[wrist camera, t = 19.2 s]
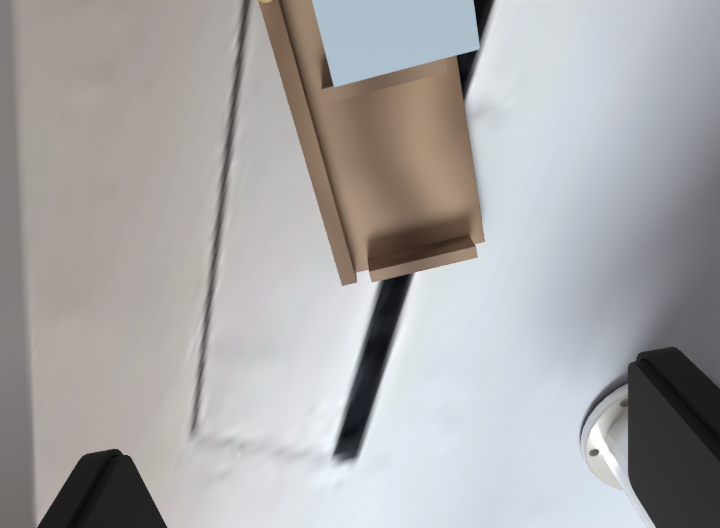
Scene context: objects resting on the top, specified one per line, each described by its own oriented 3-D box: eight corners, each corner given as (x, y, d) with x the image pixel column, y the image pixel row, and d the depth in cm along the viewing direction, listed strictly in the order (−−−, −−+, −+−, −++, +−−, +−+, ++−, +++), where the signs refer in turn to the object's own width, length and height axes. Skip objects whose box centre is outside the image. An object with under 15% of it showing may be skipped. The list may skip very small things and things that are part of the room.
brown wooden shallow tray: (413, -190, 27) (423, -219, 23) (479, 233, 37) (493, 254, 34) (223, -135, 27) (209, -155, 24) (340, 266, 38) (340, 290, 34)
